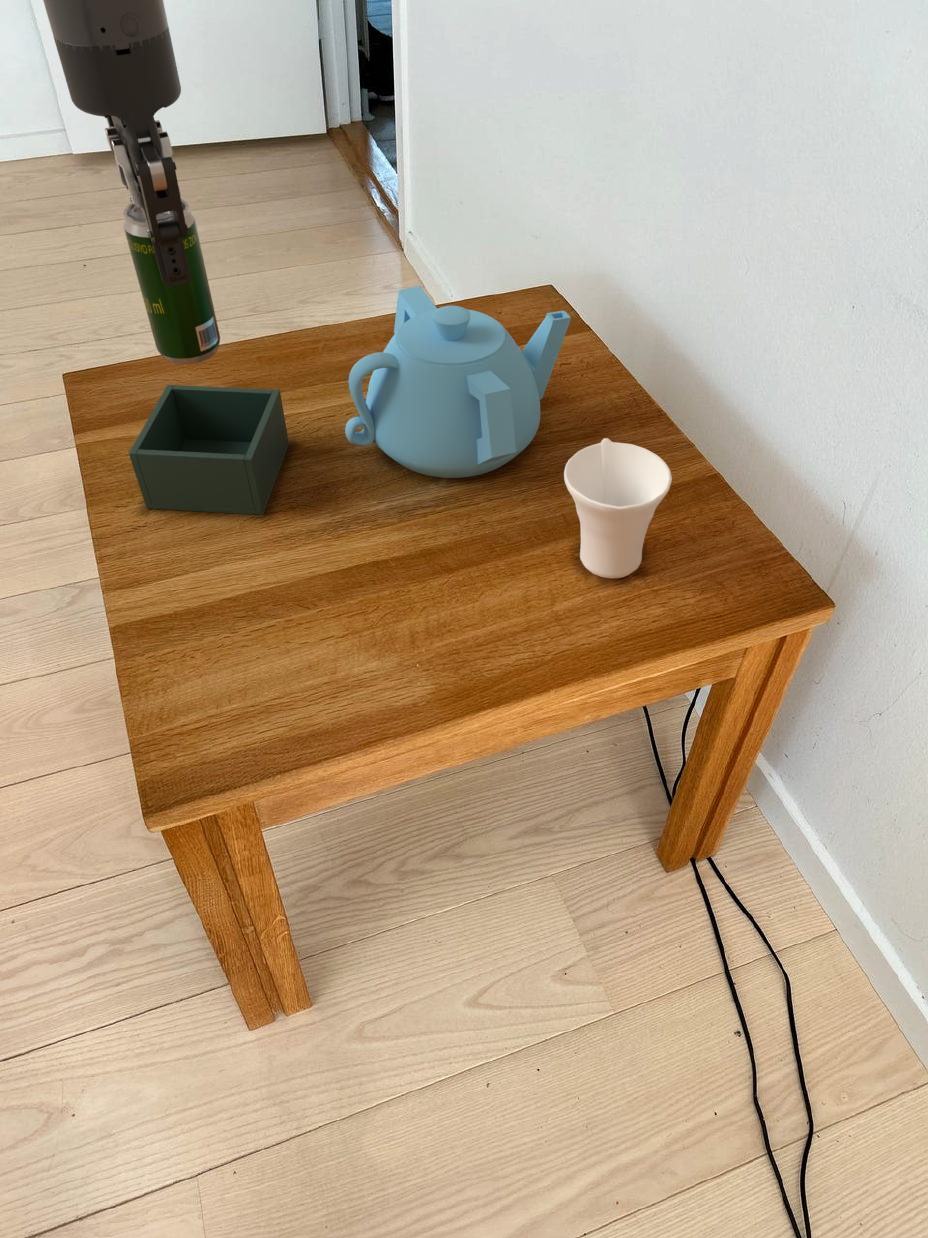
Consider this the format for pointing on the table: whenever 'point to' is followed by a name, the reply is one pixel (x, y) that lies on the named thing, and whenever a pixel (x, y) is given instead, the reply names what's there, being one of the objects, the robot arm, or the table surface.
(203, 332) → the beer can
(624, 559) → the cup
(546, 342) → the teapot
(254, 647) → the table surface
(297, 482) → the table surface
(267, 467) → the open box
